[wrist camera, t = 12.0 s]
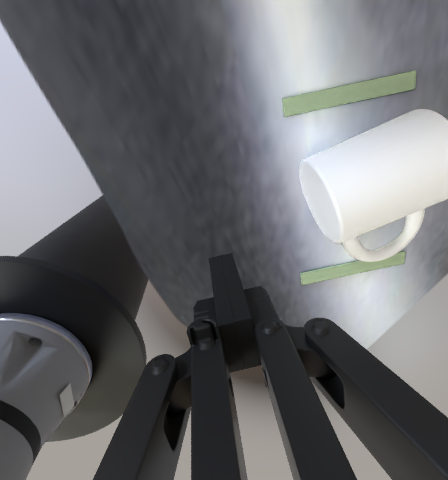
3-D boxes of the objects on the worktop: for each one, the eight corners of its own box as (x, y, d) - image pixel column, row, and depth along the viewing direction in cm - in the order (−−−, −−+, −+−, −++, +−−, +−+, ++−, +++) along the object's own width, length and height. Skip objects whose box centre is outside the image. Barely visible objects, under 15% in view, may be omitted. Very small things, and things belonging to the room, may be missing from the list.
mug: (290, 155, 27) (324, 166, 20) (390, 110, 26) (465, 104, 19) (323, 257, 31) (361, 298, 24) (409, 221, 31) (476, 252, 23)
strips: (301, 284, 33) (301, 285, 32) (282, 98, 25) (282, 98, 25) (402, 262, 33) (404, 263, 32) (414, 70, 25) (416, 70, 25)
